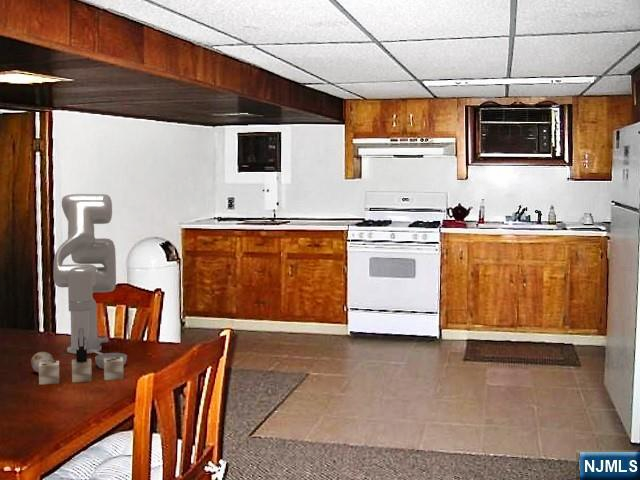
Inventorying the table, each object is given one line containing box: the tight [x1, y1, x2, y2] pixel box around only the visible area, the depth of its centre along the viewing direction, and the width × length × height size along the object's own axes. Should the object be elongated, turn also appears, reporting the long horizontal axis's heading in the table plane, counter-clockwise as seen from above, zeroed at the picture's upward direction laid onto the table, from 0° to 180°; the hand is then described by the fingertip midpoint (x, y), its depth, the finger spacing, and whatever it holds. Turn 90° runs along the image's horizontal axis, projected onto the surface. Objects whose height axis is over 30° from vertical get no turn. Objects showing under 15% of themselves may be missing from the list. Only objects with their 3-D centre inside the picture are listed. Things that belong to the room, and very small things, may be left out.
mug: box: [30, 351, 55, 374], centre depth 256 cm, size 8×10×10 cm
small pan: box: [91, 350, 128, 370], centre depth 270 cm, size 11×18×4 cm, turn 47°
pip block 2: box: [103, 357, 125, 381], centre depth 252 cm, size 6×6×6 cm
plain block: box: [71, 358, 93, 383], centre depth 250 cm, size 6×6×6 cm
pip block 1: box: [38, 360, 60, 386], centre depth 247 cm, size 6×6×6 cm
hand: (81, 361), depth 249 cm, fingers closed
